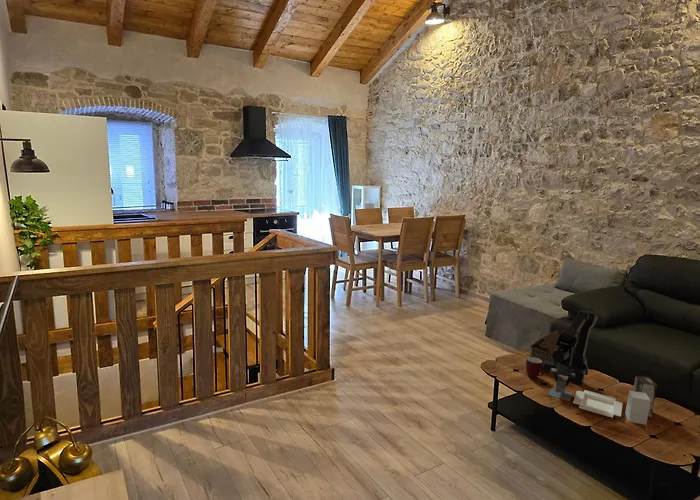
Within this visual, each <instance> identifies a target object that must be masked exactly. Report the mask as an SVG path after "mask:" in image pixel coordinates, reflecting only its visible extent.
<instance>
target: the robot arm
mask: <svg viewBox="0 0 700 500" xmlns="http://www.w3.org/2000/svg"><path fill="white" fill-rule="evenodd" d="M598 319H599V316H598V315H597V313H595V312H592V311H588V310H586V309H585V310H578V311H577V314H576V316H575V318H574V319H573V321H572V322H571V324H570V325H569V327H566V328H564V329H563V330H562V331H561V332H560V333H559V334H560V335H559V338H558V340H557V343H556V345H557V346H559V348H557V350H556V351H554V352H553V354H552V357H553V359H554V360H555V361H556V362H558V364H557V366H556V365H553V364H554V363H553V362H550V361H545V363H544V365H543V369H545V370H551V372H550V373H551V374H553V375H554V380H555V384H556V383H557V379H558V377H559V375H562V376H568V380H567V383H566V388H568V385H570V383H571V384H575V385H579V386H583V385H584V382H585V381H584V378H585V376H588V375H589V370H590V369H589V367H588V360H587V356H586V352H587V348H588V343H589V338H590V334H591V329H592V328H593V327H594V326H595V325H596V323H597V321H598ZM578 333H579V335H578ZM560 341H561V342H563V343H564V344H563V343H560ZM575 348H576V349H575ZM574 349H575V353H574V354H573V352H574Z"/></svg>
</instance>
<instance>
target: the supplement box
mask: <svg viewBox="0 0 700 500" xmlns="http://www.w3.org/2000/svg"><path fill="white" fill-rule="evenodd" d="M650 402H651V400H650V399H649V397H648V395H647V394H646V393H641V392H635V391H633V390H628V396H627V402H626V407H625V413H624V415H625V416H626V419H627V421H628V422H630V423H634V424H640V425H645V426H647V424H648V418H649V417H648V413H649V407H650Z"/></svg>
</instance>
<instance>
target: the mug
mask: <svg viewBox="0 0 700 500" xmlns="http://www.w3.org/2000/svg"><path fill="white" fill-rule="evenodd" d="M525 359H526V360H525V370H526V375H527V376H528V378H530V379H533V380H534V379H537V377H543V375H544V374H545V372H544V371H543V369H542V368H541V367H542V360H541V359H539V358H535V357H530V356H527V357H526V358H525ZM540 372H541V374H540Z"/></svg>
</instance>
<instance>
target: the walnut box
mask: <svg viewBox="0 0 700 500" xmlns="http://www.w3.org/2000/svg"><path fill="white" fill-rule="evenodd" d="M568 376H569V375H567V376H562V375H558V379H557V383H556V382H555V388H556V390H555V391H556V392H560V393H563V394H564V393H565V391H566V390H567V387H566V383H567V380H568Z"/></svg>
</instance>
